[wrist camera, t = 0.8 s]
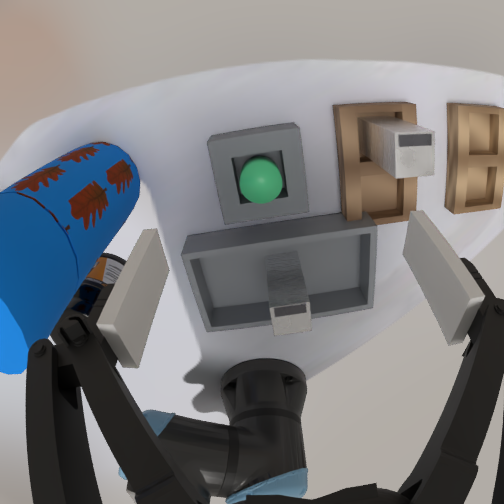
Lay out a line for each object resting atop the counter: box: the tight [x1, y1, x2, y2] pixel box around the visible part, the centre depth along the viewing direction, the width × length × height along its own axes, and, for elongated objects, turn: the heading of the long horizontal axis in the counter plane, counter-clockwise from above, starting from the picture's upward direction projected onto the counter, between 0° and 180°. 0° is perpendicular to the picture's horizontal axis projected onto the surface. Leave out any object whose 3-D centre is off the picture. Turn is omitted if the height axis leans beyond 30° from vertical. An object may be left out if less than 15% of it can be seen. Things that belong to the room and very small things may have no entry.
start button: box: [240, 156, 282, 204], centre depth 31 cm, size 4×4×3 cm
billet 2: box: [357, 116, 435, 179], centre depth 28 cm, size 4×4×10 cm
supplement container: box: [50, 253, 127, 345], centre depth 38 cm, size 10×10×12 cm
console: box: [207, 123, 309, 225], centre depth 33 cm, size 9×9×4 cm
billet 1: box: [265, 251, 312, 336], centre depth 37 cm, size 4×4×10 cm
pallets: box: [333, 102, 504, 225], centre depth 33 cm, size 14×24×2 cm, turn 99°
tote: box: [181, 211, 377, 332], centre depth 40 cm, size 12×22×4 cm, turn 99°
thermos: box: [0, 142, 140, 374], centre depth 25 cm, size 11×11×25 cm
